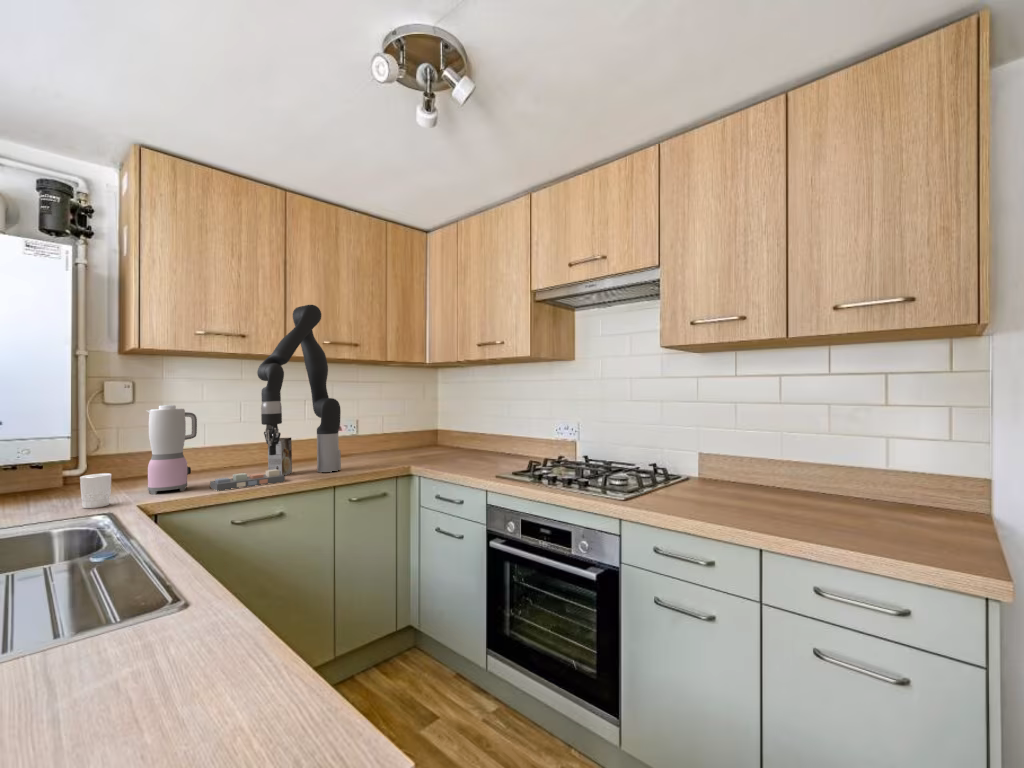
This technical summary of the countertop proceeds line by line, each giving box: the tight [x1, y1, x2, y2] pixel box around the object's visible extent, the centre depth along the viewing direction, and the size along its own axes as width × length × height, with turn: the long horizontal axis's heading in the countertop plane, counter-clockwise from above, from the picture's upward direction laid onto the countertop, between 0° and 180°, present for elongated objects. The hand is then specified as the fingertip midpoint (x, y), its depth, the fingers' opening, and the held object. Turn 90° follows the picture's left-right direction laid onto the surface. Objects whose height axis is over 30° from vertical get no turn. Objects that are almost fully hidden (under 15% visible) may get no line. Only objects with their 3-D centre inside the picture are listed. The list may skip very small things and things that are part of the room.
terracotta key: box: [249, 473, 264, 479], centre depth 196 cm, size 4×4×3 cm
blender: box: [146, 404, 198, 495], centre depth 185 cm, size 16×12×32 cm
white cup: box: [79, 472, 113, 509], centre depth 160 cm, size 8×8×10 cm
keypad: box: [209, 473, 286, 492], centre depth 193 cm, size 24×10×2 cm, turn 134°
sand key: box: [265, 469, 279, 477], centre depth 200 cm, size 4×4×3 cm
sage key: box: [232, 472, 248, 481], centre depth 191 cm, size 4×4×3 cm
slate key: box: [214, 477, 231, 483], centre depth 187 cm, size 4×4×3 cm
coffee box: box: [267, 437, 293, 476], centre depth 216 cm, size 9×6×16 cm
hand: (272, 455), depth 200 cm, fingers closed
